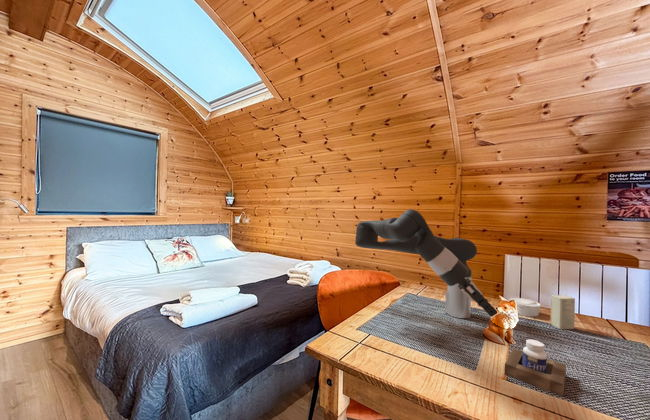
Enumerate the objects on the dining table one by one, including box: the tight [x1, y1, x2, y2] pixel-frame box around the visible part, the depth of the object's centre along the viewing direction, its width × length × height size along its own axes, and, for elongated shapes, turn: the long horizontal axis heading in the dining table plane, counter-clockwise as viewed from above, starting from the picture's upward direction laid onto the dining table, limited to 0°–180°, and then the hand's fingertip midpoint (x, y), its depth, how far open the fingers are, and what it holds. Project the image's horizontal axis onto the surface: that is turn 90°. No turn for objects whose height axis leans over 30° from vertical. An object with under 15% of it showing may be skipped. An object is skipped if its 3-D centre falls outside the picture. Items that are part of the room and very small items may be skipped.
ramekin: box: [509, 297, 542, 318], centre depth 121 cm, size 11×11×5 cm
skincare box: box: [550, 294, 576, 330], centre depth 106 cm, size 6×4×12 cm
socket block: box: [504, 348, 567, 397], centre depth 74 cm, size 12×12×3 cm
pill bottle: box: [522, 338, 548, 374], centre depth 74 cm, size 5×5×9 cm
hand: (489, 308), depth 77 cm, fingers open, 8 cm apart
